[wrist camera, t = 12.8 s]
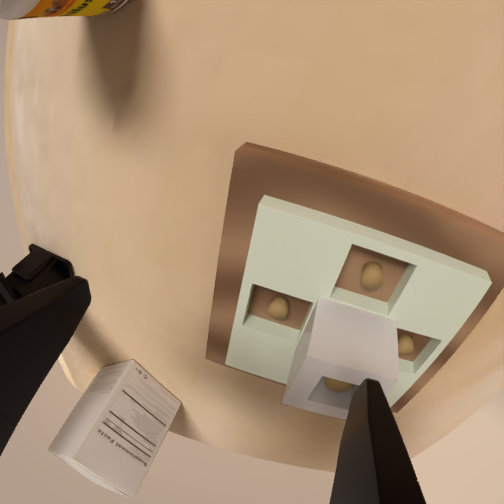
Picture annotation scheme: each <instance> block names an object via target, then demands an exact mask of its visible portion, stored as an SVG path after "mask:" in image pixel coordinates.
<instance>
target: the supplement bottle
mask: <svg viewBox="0 0 504 504" xmlns="http://www.w3.org/2000/svg"><path fill="white" fill-rule="evenodd" d="M127 1H128V0H0V18H2V19H5V20H16V19H25V18H38V17H55V16H102V15H106V14H109V13H112V12H114V11H116V10H117V9H119V8H120V7H122V6H123V5H124V4H125V3H126V2H127Z"/></svg>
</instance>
